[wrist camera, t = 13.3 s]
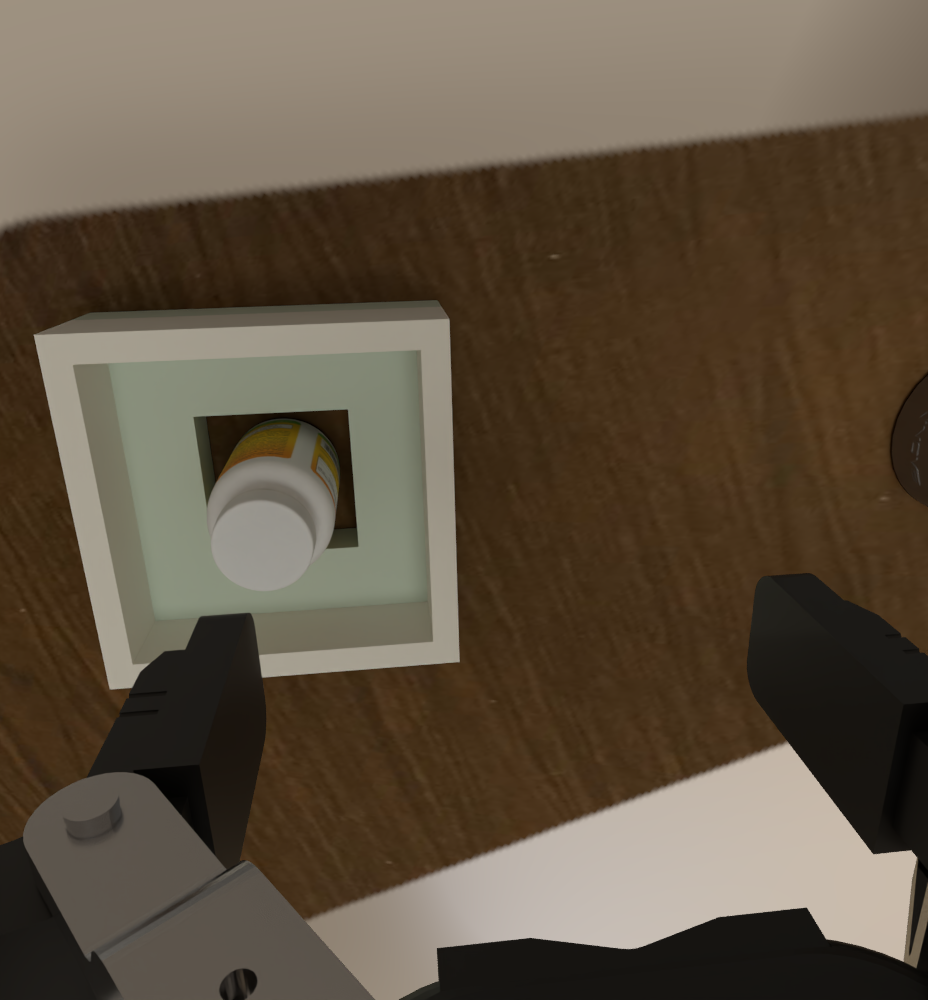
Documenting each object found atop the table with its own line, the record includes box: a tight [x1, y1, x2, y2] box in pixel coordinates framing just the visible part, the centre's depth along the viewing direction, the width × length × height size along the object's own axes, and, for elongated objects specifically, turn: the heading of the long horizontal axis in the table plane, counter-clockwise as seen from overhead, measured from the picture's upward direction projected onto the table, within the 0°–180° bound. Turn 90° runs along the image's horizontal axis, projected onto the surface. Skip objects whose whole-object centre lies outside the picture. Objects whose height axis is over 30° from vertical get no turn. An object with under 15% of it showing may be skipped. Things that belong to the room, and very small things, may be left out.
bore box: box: [34, 300, 459, 689], centre depth 37 cm, size 16×16×6 cm
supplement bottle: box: [207, 419, 340, 591], centre depth 35 cm, size 5×5×10 cm
